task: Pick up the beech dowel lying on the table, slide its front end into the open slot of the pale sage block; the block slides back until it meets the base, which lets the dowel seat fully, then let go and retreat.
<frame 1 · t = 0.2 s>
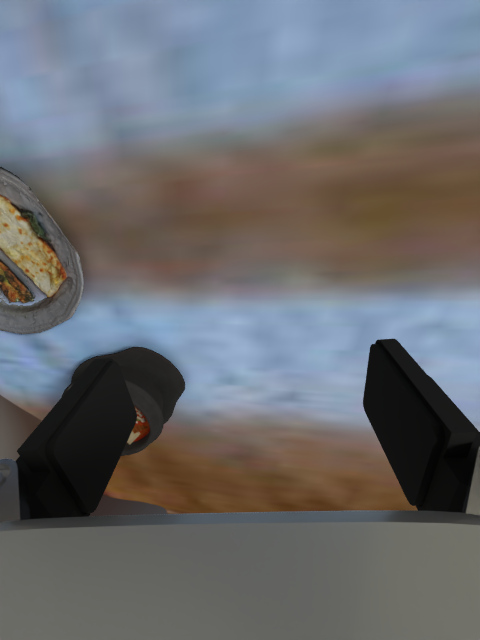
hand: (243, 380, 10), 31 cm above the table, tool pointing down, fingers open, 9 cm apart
casserole: (127, 389, 52), on the table
food plate: (2, 252, 41), on the table
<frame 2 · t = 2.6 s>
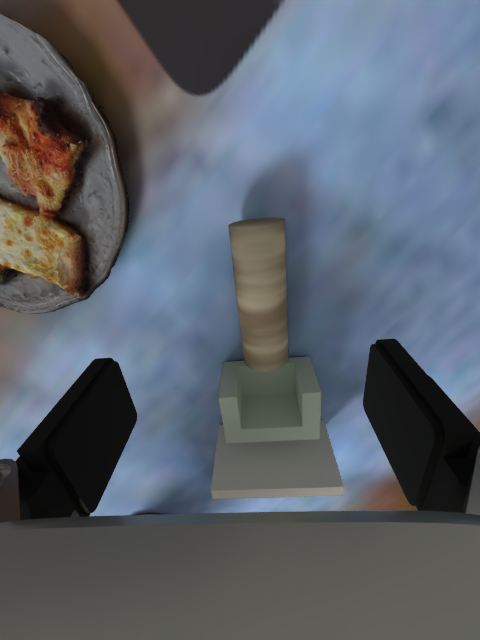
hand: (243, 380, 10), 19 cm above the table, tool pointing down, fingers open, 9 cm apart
dowel: (260, 289, 29), on the table
base: (270, 426, 38), on the table
block: (269, 398, 31), point 3 cm above the table, slide at 0.0 cm
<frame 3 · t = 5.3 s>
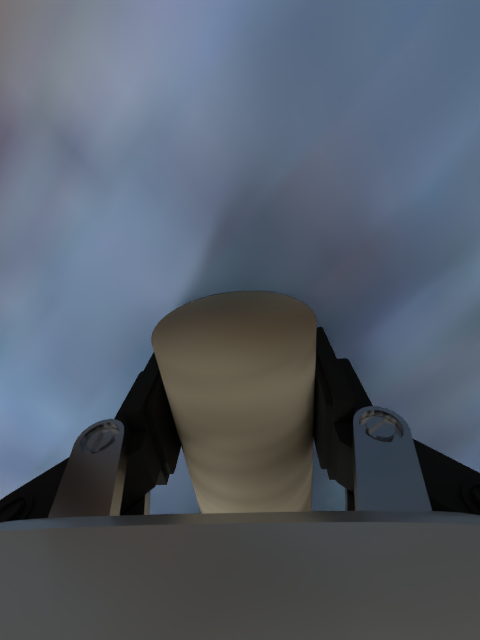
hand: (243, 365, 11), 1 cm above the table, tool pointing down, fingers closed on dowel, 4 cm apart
dowel: (251, 424, 14), on the table, touching gripper
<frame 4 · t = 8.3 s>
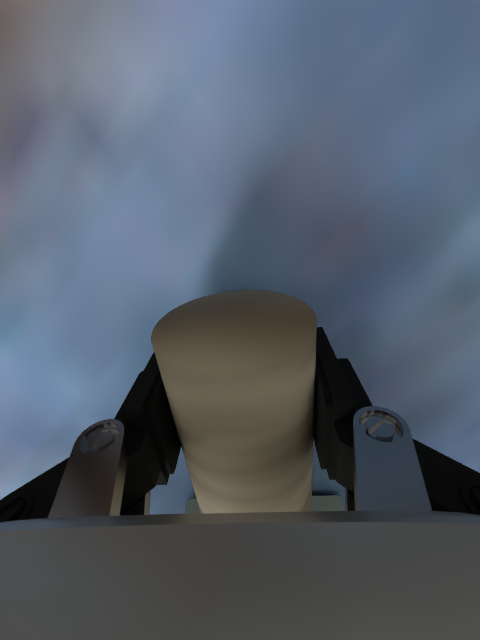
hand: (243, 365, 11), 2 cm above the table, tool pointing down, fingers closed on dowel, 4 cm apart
dowel: (251, 424, 14), point 1 cm above the table, touching gripper
block: (267, 578, 17), point 3 cm above the table, slide at 0.0 cm
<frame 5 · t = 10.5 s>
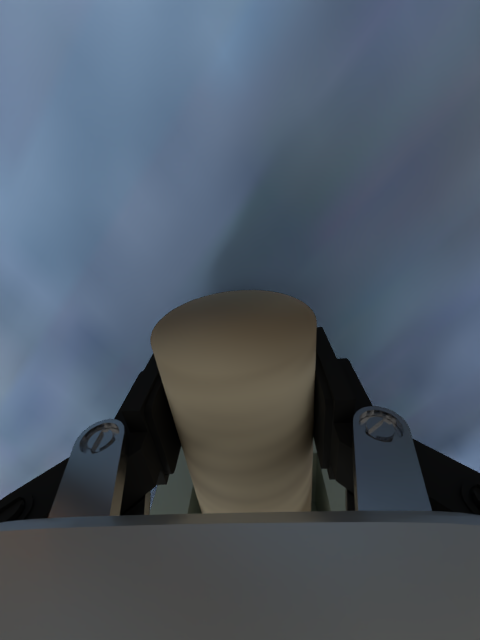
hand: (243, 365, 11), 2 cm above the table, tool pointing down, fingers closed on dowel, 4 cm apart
dowel: (251, 423, 14), point 1 cm above the table, touching block, gripper
block: (261, 529, 15), point 3 cm above the table, slide at 3.9 cm, touching dowel
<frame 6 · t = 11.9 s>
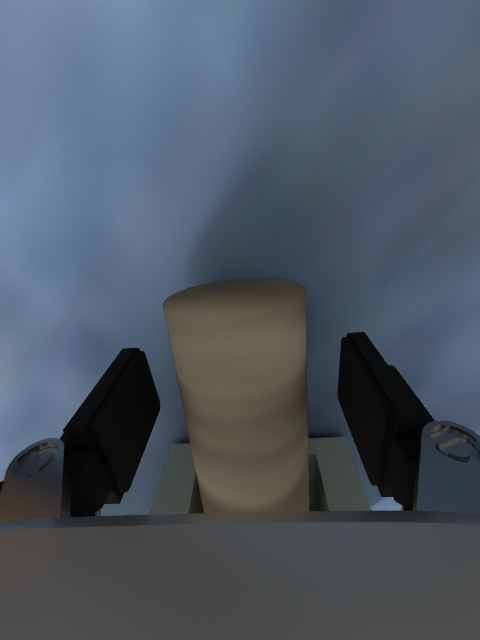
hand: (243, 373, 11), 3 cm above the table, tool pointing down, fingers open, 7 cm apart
dowel: (251, 414, 14), point 1 cm above the table, tilted 8°, touching block
block: (261, 530, 15), point 3 cm above the table, slide at 3.9 cm, touching dowel
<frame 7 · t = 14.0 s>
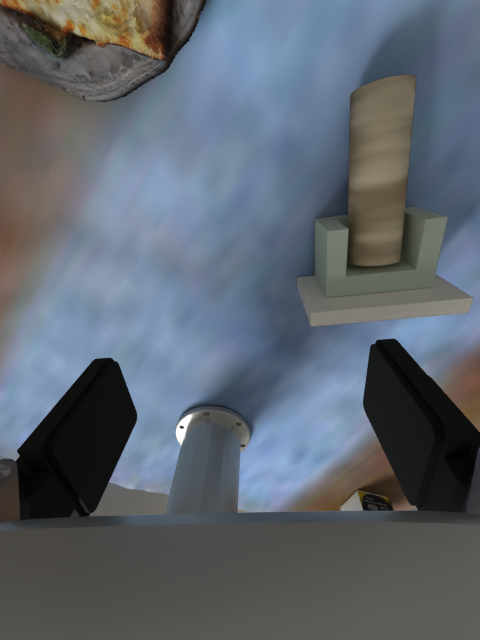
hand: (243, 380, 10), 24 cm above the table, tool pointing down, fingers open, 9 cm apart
dowel: (367, 184, 28), point 1 cm above the table, tilted 8°, touching block
base: (356, 276, 33), on the table
black and yellow box: (363, 500, 57), on the table
block: (370, 251, 28), point 3 cm above the table, slide at 3.9 cm, touching dowel
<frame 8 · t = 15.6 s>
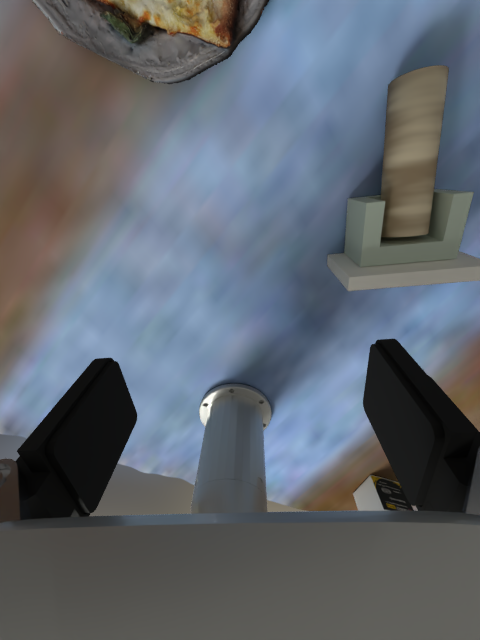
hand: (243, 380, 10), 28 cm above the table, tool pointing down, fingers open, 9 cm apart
dowel: (397, 167, 31), point 1 cm above the table, tilted 8°, touching block
base: (382, 255, 36), on the table
black and yellow box: (375, 486, 59), on the table
block: (399, 227, 31), point 3 cm above the table, slide at 3.9 cm, touching dowel
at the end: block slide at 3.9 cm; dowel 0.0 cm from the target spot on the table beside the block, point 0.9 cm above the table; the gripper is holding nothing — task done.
